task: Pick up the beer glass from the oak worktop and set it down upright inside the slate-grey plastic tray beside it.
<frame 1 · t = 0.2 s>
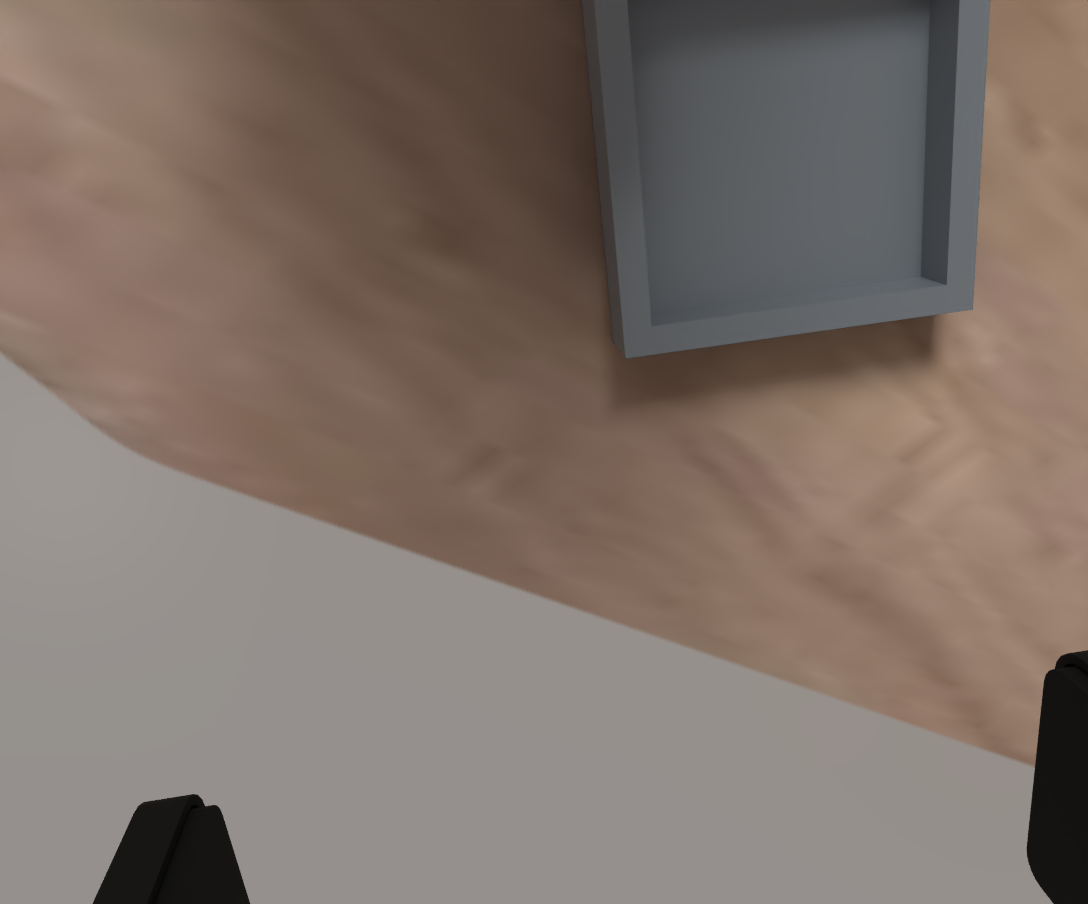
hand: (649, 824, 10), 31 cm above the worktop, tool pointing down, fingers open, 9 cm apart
slate tray: (772, 144, 37), on the worktop
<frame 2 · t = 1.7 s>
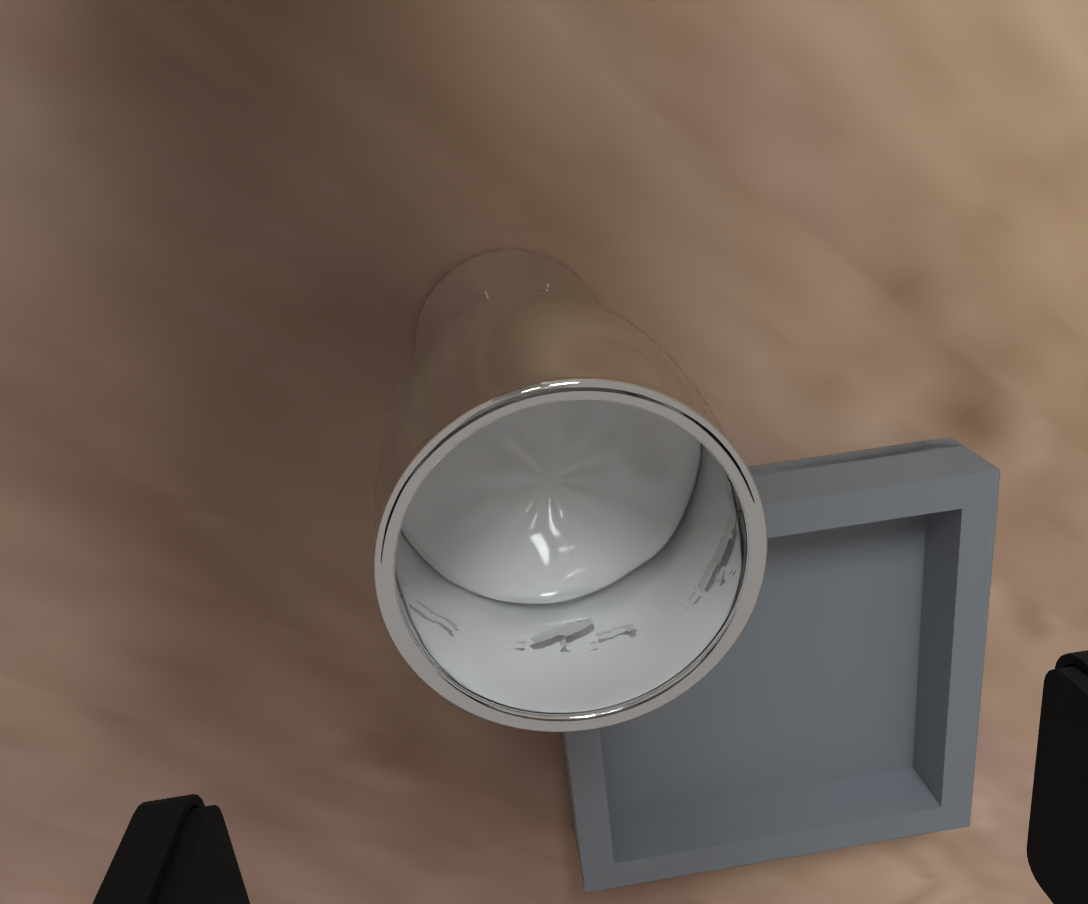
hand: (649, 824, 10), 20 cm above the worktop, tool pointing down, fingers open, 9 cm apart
slate tray: (749, 648, 34), on the worktop
beer glass: (510, 343, 29), on the worktop
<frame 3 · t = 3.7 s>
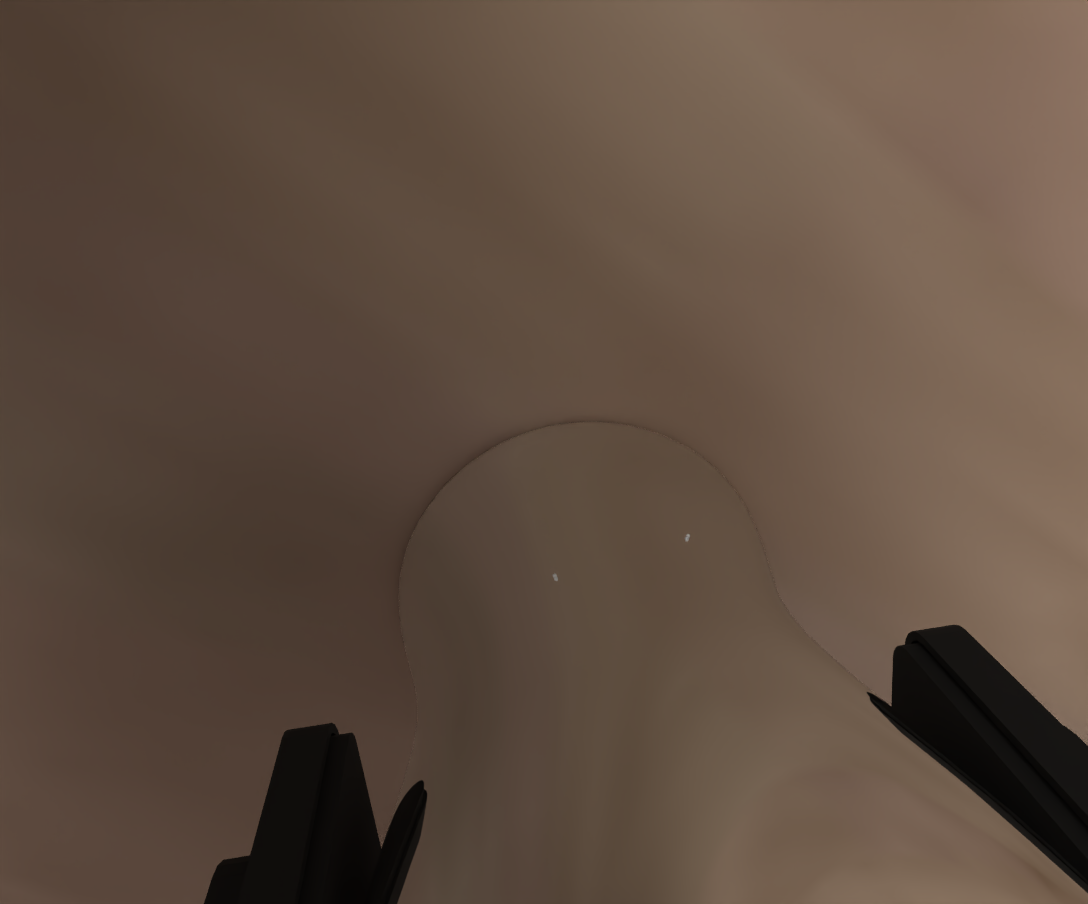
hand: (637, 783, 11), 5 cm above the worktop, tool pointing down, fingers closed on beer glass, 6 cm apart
beer glass: (580, 583, 15), on the worktop, touching gripper
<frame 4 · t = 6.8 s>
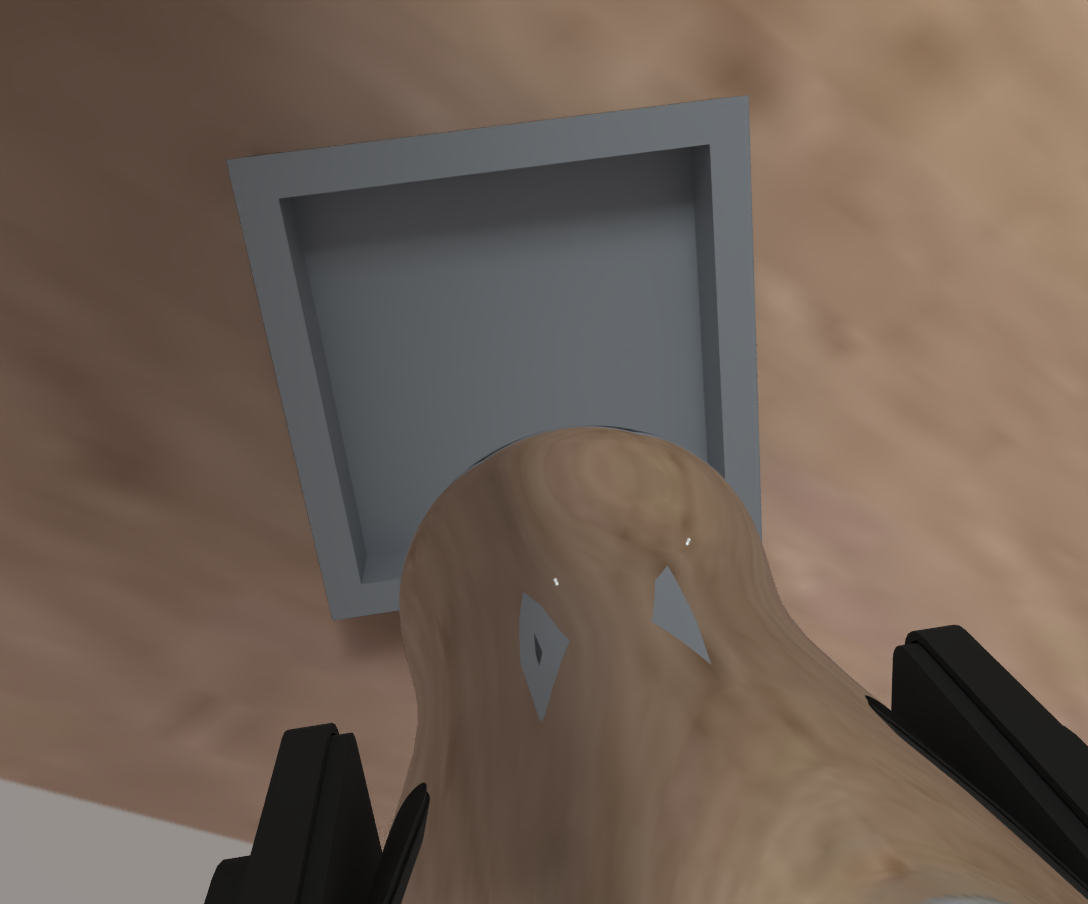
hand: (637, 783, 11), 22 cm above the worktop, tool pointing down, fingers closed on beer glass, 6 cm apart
slate tray: (516, 356, 31), on the worktop
beer glass: (580, 586, 15), point 17 cm above the worktop, touching gripper
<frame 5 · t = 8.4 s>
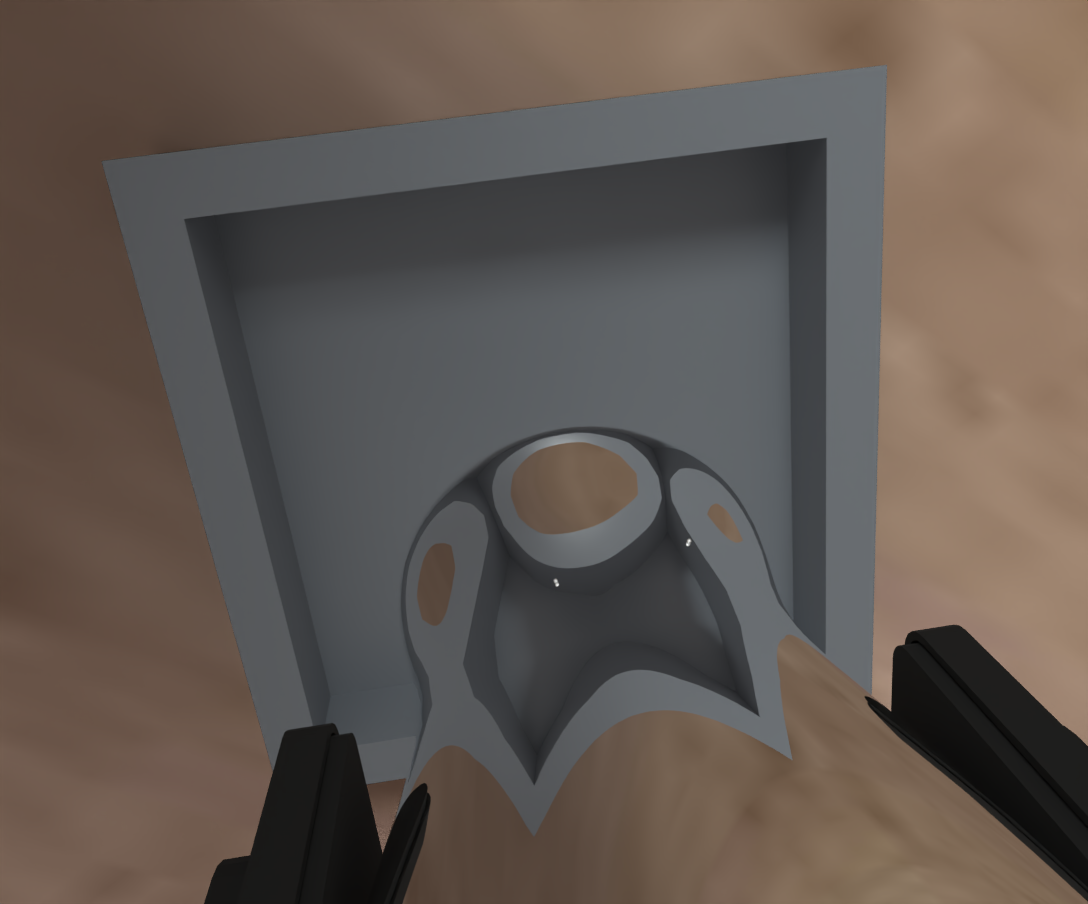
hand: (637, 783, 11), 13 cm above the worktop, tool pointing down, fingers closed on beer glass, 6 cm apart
slate tray: (535, 430, 22), on the worktop
beer glass: (580, 587, 15), point 8 cm above the worktop, touching gripper
when the fingers open (7 cm above the worktop, at t = 10.0 s): beer glass drops 1 cm, resting on slate tray.
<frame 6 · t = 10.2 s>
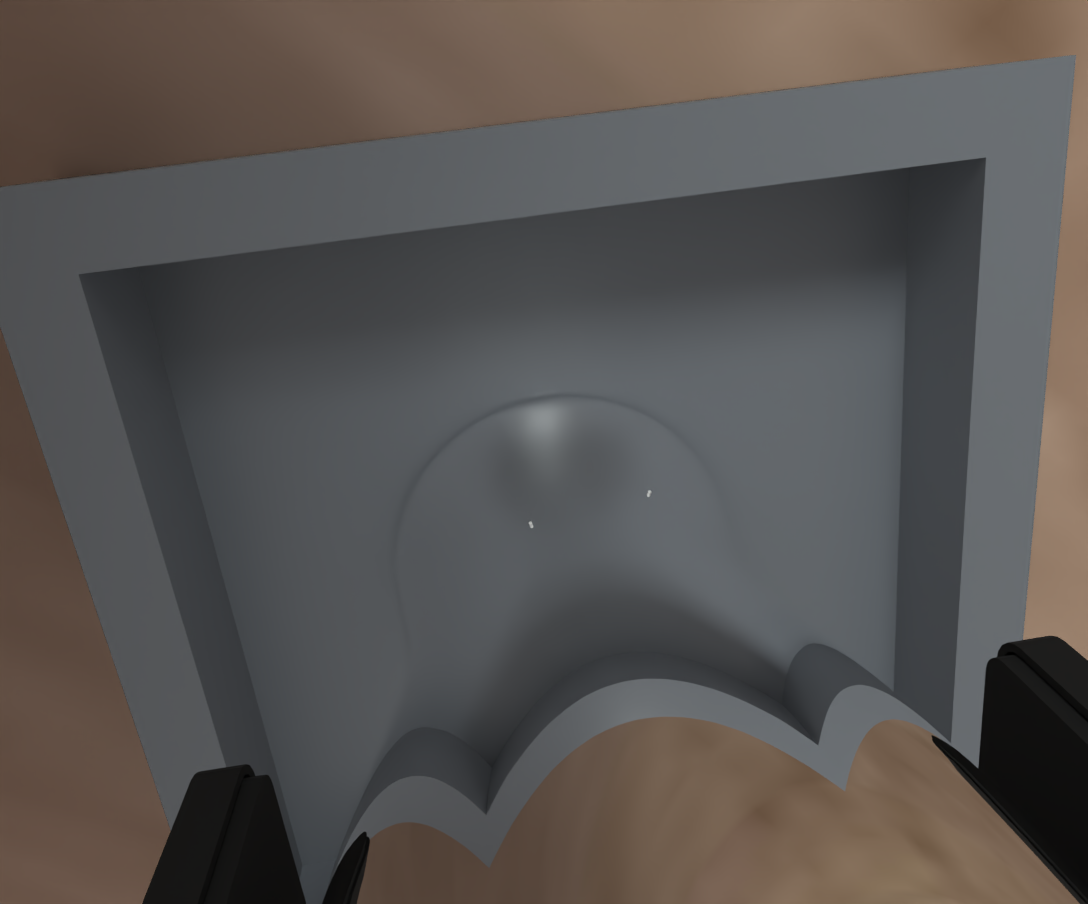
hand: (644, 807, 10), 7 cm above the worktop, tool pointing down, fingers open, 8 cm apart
slate tray: (566, 531, 17), on the worktop
beer glass: (560, 546, 17), point 1 cm above the worktop, touching slate tray
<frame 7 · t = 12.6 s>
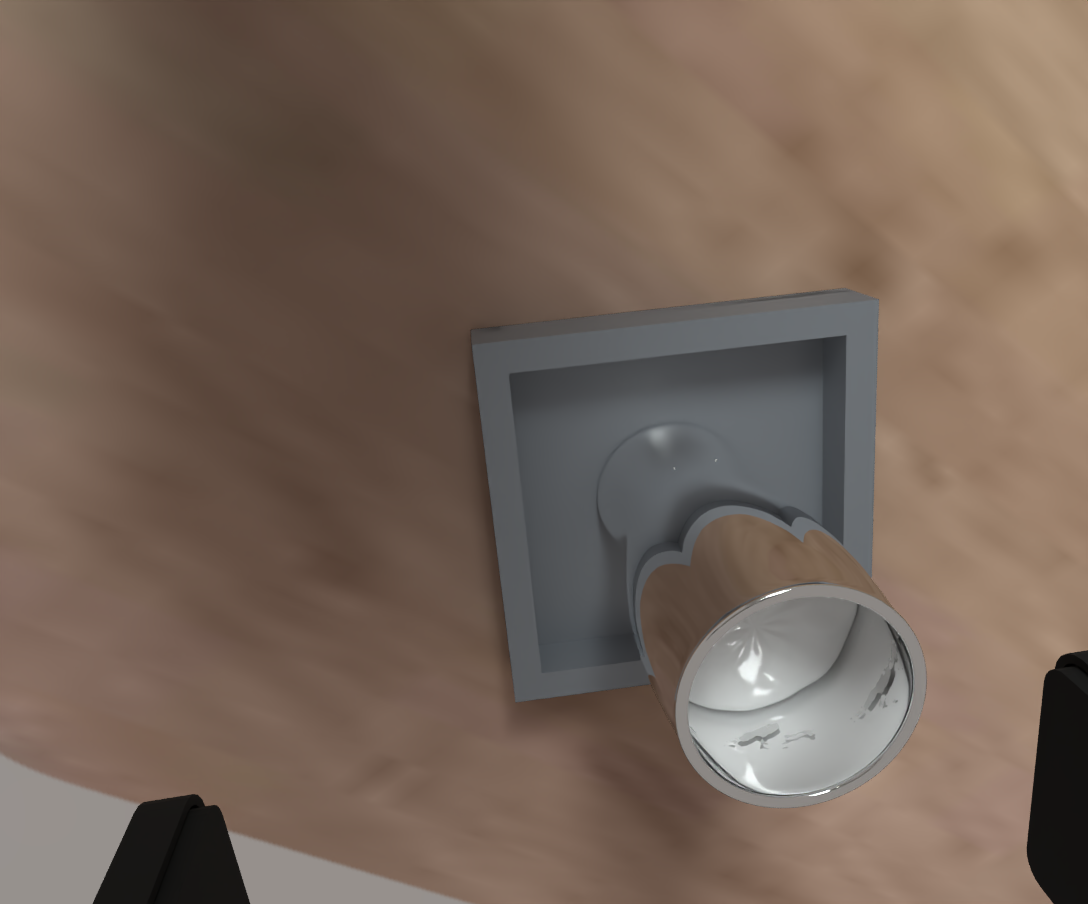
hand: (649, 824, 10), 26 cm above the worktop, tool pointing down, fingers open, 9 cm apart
slate tray: (669, 485, 37), on the worktop
beer glass: (668, 490, 37), point 1 cm above the worktop, touching slate tray
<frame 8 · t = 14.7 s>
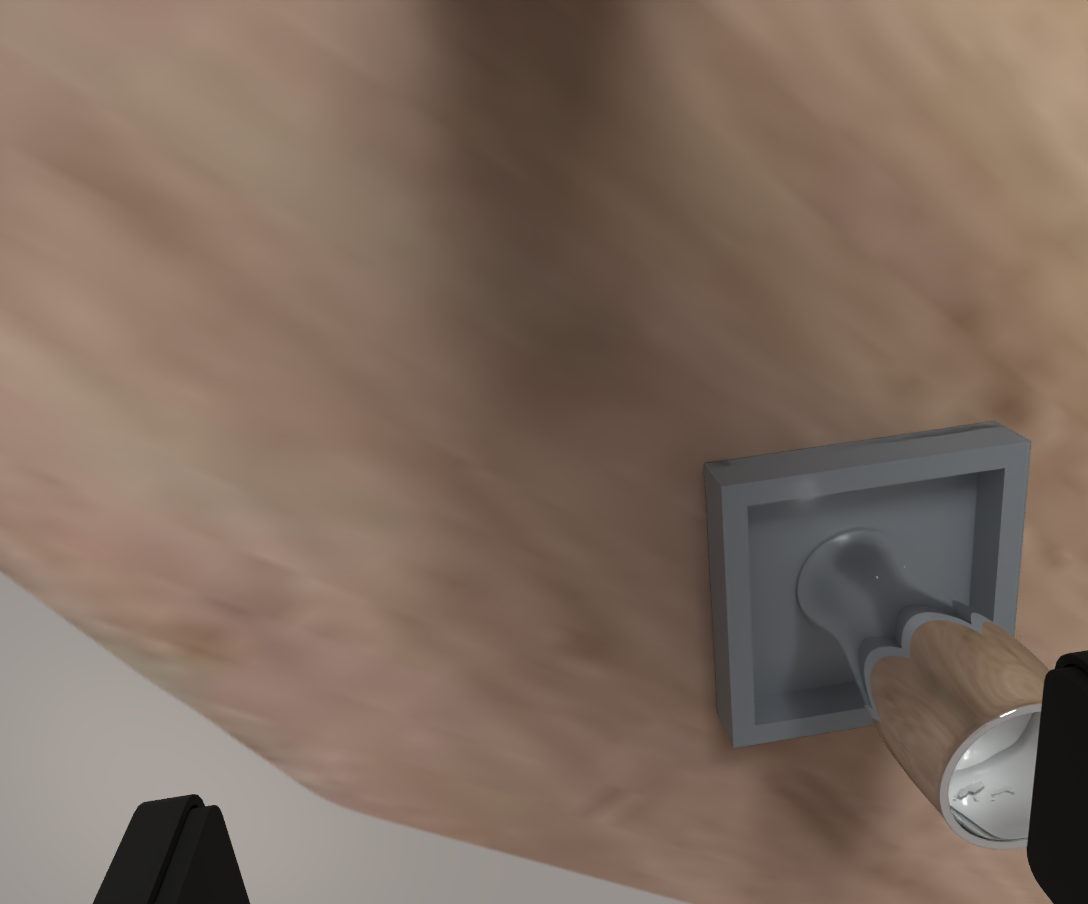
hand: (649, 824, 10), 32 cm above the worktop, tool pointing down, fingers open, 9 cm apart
slate tray: (849, 573, 47), on the worktop
beer glass: (850, 579, 46), point 1 cm above the worktop, touching slate tray
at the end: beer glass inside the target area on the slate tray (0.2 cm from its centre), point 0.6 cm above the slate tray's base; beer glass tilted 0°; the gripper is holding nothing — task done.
